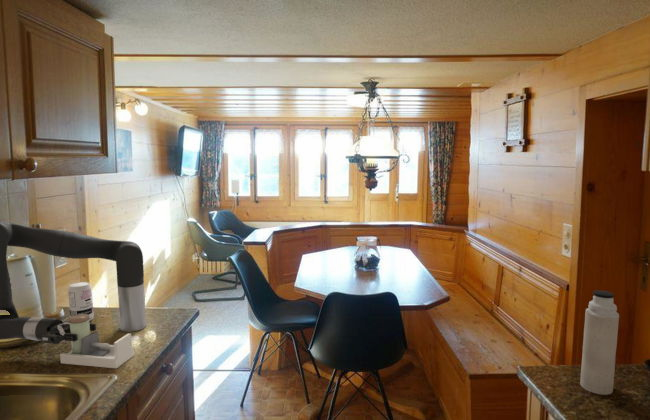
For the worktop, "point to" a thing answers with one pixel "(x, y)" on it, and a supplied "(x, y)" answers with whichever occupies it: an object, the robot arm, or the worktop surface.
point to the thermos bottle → (599, 344)
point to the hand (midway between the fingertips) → (86, 332)
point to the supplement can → (81, 299)
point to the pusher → (93, 345)
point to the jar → (79, 330)
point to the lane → (112, 359)
